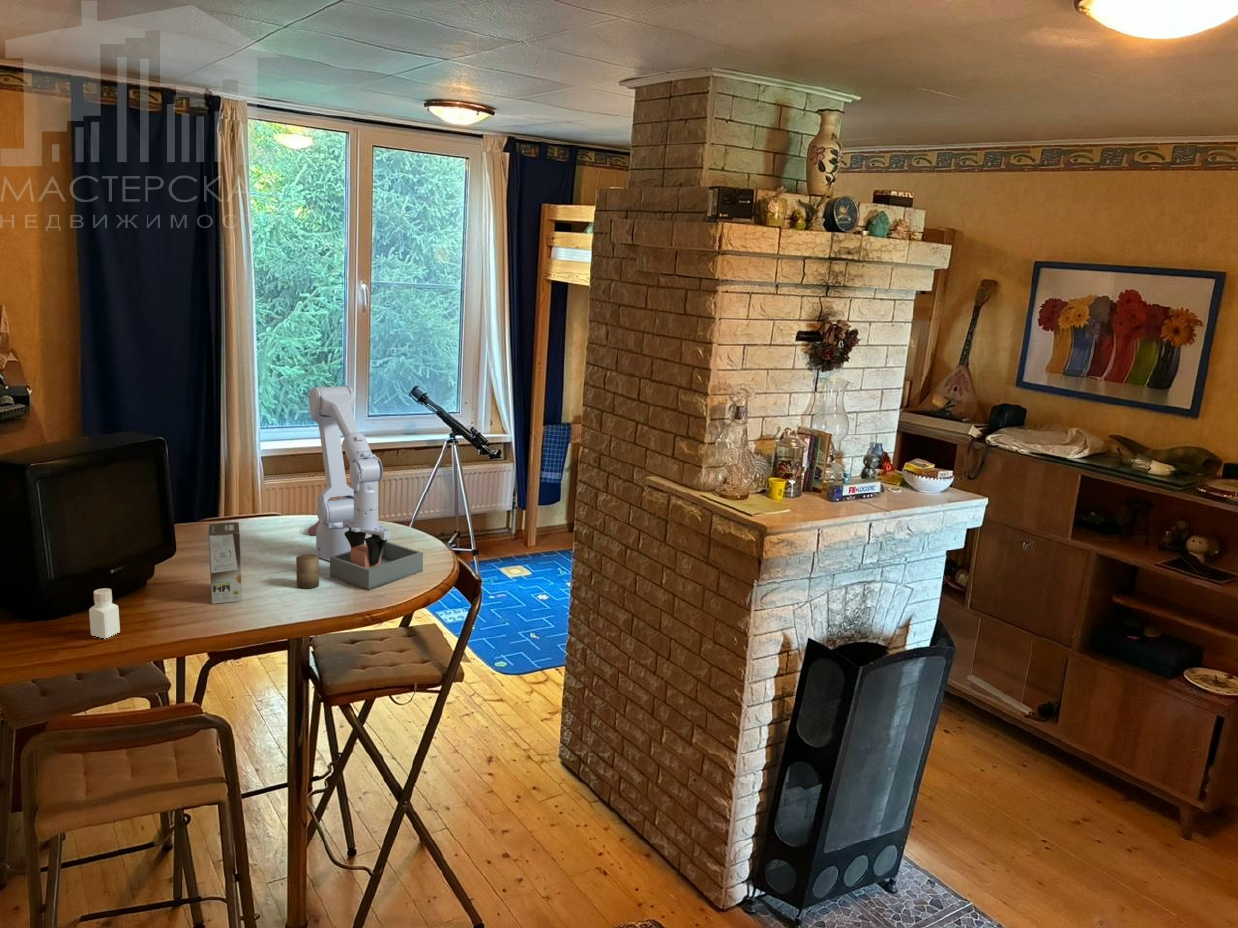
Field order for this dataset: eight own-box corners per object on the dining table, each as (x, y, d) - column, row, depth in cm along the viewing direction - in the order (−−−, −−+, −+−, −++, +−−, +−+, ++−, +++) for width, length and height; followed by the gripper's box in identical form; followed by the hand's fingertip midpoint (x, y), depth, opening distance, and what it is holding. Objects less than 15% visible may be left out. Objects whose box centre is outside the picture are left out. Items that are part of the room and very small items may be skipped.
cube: (350, 567, 226) (350, 547, 225) (366, 562, 230) (366, 543, 229) (364, 572, 224) (364, 552, 222) (380, 567, 228) (380, 547, 226)
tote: (330, 576, 227) (329, 557, 226) (384, 558, 241) (384, 540, 240) (368, 590, 220) (368, 570, 219) (422, 571, 234) (422, 552, 233)
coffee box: (242, 601, 209) (240, 533, 205) (211, 604, 206) (208, 535, 202) (241, 587, 217) (238, 521, 213) (211, 589, 214) (208, 523, 211)
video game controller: (319, 542, 255) (329, 522, 253) (305, 533, 256) (315, 513, 254) (336, 532, 265) (346, 512, 263) (323, 523, 265) (333, 503, 263)
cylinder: (292, 585, 220) (291, 557, 218) (309, 580, 224) (309, 552, 222) (306, 591, 217) (305, 562, 216) (323, 585, 221) (323, 557, 220)
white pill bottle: (105, 629, 190) (102, 586, 188) (121, 633, 189) (118, 589, 187) (89, 637, 187) (86, 592, 185) (105, 640, 186) (102, 595, 183)
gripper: (332, 504, 224) (332, 558, 227) (374, 517, 216) (374, 572, 220) (355, 499, 230) (355, 551, 233) (397, 511, 222) (396, 565, 225)
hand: (366, 561), depth 227 cm, fingers closed on cube, 5 cm apart
